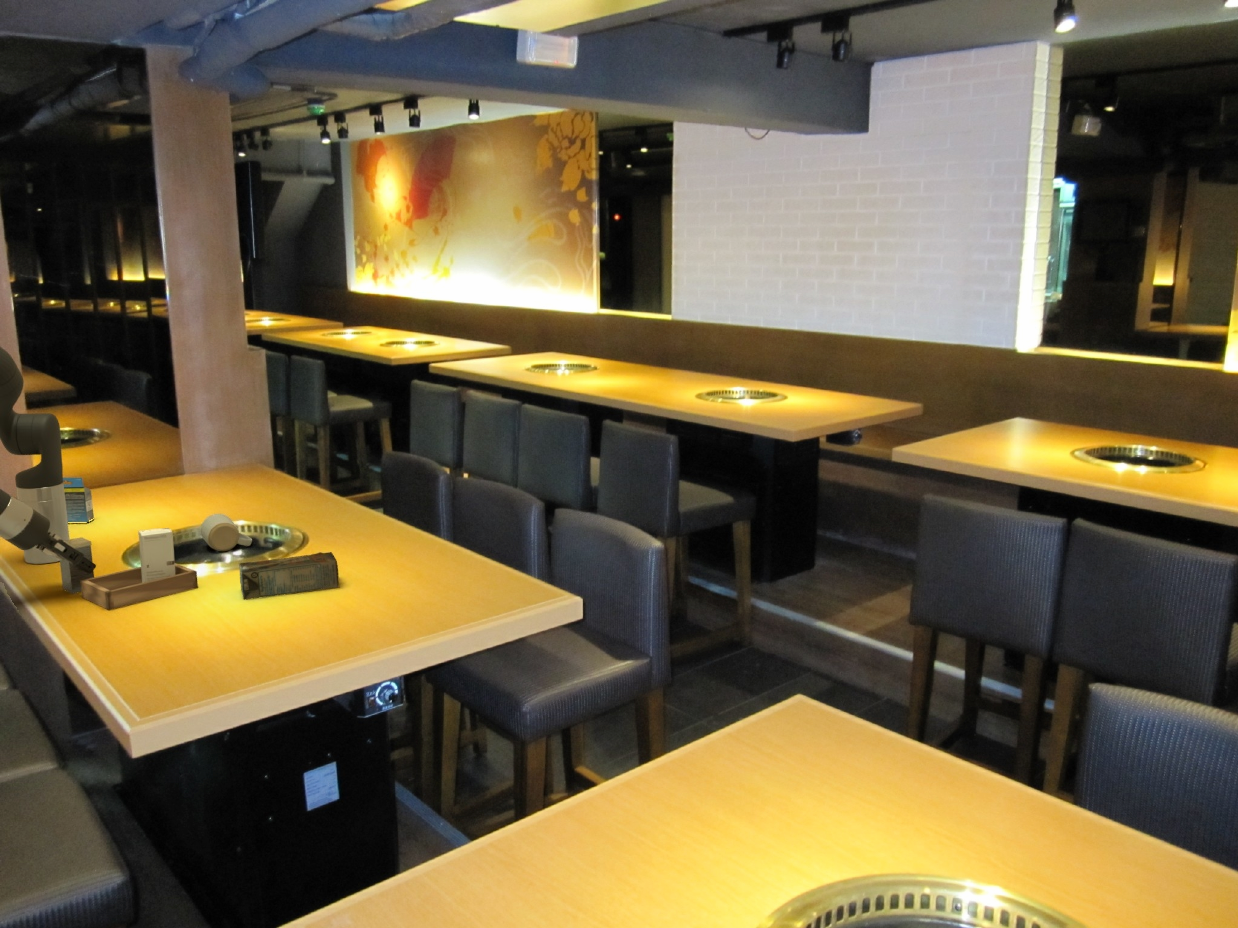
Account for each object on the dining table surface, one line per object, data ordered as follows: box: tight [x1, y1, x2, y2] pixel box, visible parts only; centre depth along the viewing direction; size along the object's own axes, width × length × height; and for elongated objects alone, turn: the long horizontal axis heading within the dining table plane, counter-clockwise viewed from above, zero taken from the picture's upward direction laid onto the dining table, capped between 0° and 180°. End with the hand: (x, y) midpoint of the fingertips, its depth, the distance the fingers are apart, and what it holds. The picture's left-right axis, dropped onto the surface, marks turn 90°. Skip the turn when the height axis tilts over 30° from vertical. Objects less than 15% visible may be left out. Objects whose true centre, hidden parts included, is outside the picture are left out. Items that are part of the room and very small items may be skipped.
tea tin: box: [59, 536, 95, 595], centre depth 205 cm, size 5×5×10 cm
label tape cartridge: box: [63, 476, 95, 522], centre depth 258 cm, size 9×4×12 cm, turn 92°
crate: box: [80, 563, 199, 611], centre depth 203 cm, size 12×18×4 cm, turn 141°
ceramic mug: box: [200, 513, 253, 552], centre depth 236 cm, size 11×8×8 cm
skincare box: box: [138, 527, 175, 583], centre depth 205 cm, size 6×4×12 cm
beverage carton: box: [238, 551, 340, 601], centre depth 206 cm, size 8×19×7 cm, turn 114°
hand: (84, 565), depth 206 cm, fingers open, 7 cm apart
